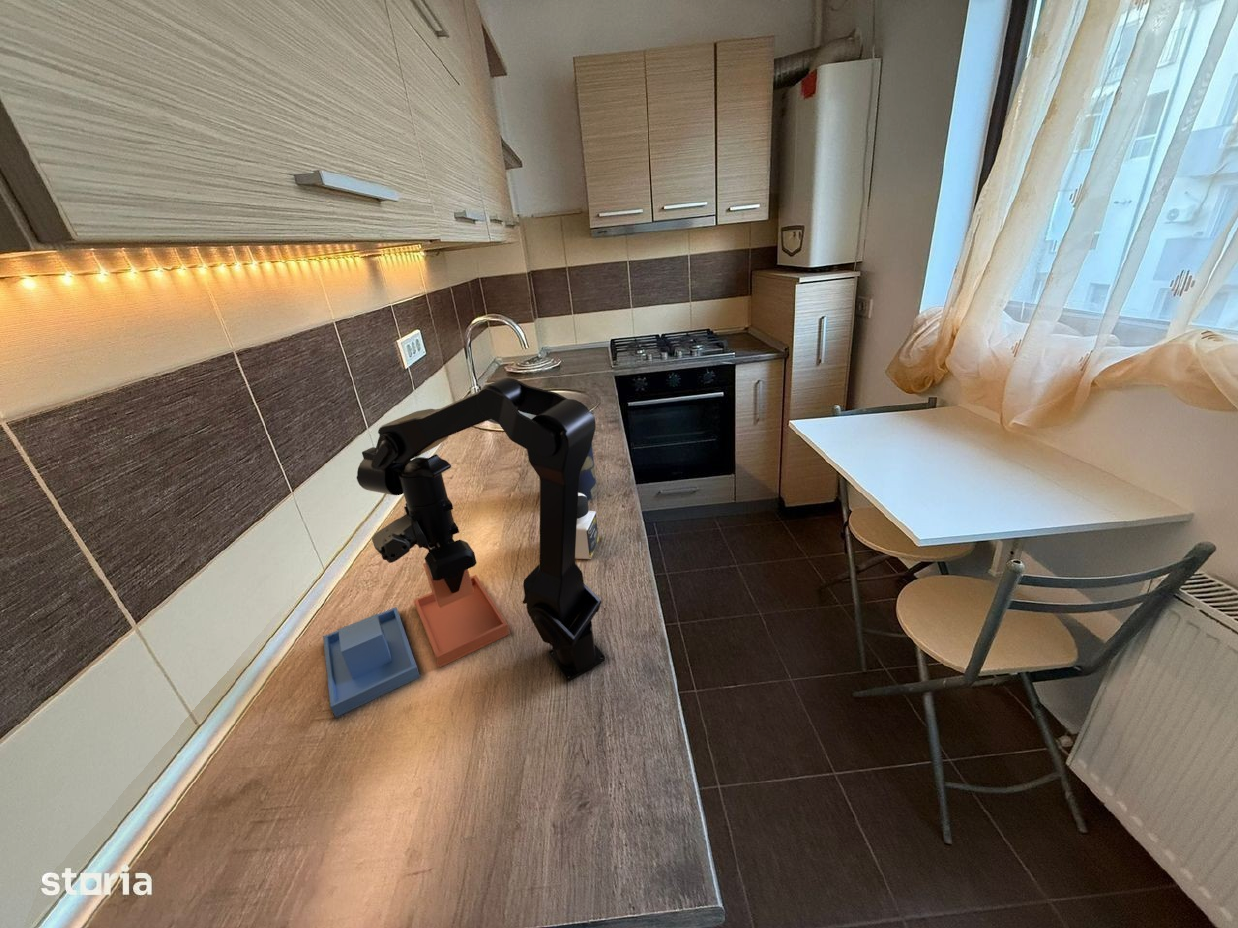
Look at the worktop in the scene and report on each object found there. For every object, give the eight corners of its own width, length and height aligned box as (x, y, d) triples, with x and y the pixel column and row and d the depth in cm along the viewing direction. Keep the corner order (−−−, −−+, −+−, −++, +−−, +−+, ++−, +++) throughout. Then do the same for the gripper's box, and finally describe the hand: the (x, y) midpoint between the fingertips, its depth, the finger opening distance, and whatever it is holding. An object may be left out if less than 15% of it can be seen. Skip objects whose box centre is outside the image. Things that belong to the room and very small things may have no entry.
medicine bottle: (590, 560, 93) (584, 506, 88) (556, 558, 95) (548, 505, 90) (599, 539, 100) (593, 489, 95) (566, 538, 101) (559, 488, 96)
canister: (597, 486, 122) (590, 420, 115) (597, 504, 114) (590, 434, 106) (560, 489, 122) (551, 423, 115) (557, 507, 114) (547, 437, 106)
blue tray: (420, 677, 70) (416, 666, 69) (335, 717, 65) (330, 707, 64) (399, 616, 83) (396, 606, 82) (327, 645, 77) (322, 636, 76)
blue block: (392, 661, 72) (382, 634, 70) (352, 679, 70) (341, 651, 68) (386, 640, 77) (377, 613, 74) (349, 656, 74) (337, 629, 72)
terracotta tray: (509, 634, 77) (507, 624, 76) (439, 667, 71) (436, 657, 70) (478, 583, 89) (475, 574, 88) (416, 609, 84) (413, 599, 83)
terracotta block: (474, 593, 76) (466, 563, 75) (439, 607, 74) (430, 578, 72) (464, 578, 81) (456, 550, 79) (431, 591, 78) (422, 563, 76)
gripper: (359, 492, 74) (387, 574, 80) (377, 544, 59) (410, 639, 66) (432, 471, 79) (453, 549, 86) (465, 514, 65) (487, 605, 71)
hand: (450, 582), depth 77 cm, fingers closed on terracotta block, 5 cm apart
